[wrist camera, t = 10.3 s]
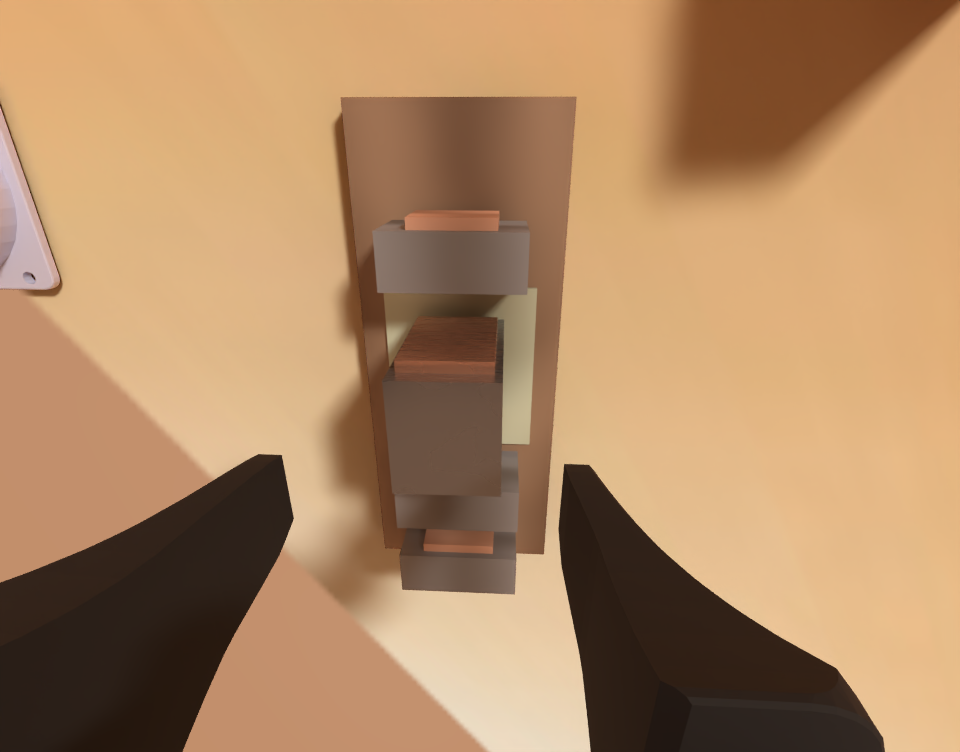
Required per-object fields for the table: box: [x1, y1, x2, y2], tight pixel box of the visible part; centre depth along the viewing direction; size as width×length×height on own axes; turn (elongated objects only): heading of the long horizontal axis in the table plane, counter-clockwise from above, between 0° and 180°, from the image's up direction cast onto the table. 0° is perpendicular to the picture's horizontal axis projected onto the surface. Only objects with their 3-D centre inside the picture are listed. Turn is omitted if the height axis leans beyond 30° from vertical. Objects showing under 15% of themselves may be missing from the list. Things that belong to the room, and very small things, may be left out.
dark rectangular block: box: [382, 316, 504, 497], centre depth 18 cm, size 4×4×6 cm
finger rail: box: [341, 97, 576, 594], centre depth 20 cm, size 8×20×4 cm, turn 0°
